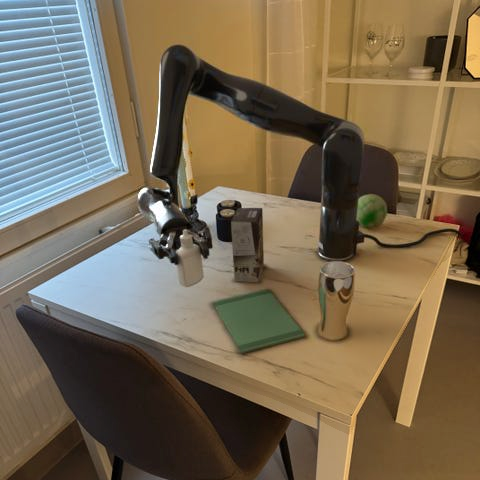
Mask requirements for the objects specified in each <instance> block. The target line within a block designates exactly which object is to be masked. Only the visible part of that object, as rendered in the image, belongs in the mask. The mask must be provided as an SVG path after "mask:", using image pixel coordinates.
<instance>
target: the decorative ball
mask: <svg viewBox="0 0 480 480" xmlns="http://www.w3.org/2000/svg"><path fill="white" fill-rule="evenodd" d="M387 215H388V205H387V202H386V201H385V200H384V198H382V197H381V196H380V195H377V194H373V193H368V194H364V195H362V196H359V199H358V209H357V219H356V220H357V221H359V228H362V229H365V230H372V229H373V230H374V229H375V228H378V227H379V226H381V225H383V223H384V221H385V220H386V218H387Z"/></svg>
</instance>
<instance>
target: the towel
mask: <svg viewBox="0 0 480 480" xmlns="http://www.w3.org/2000/svg"><path fill="white" fill-rule="evenodd" d="M212 305H213V306H214V308H215V309H216V312H217V313H218V315H219V317H220V318H221V320H222V322H223V323H224V326H225V327H226V329H227V330H228V332H229V334H230V335H231V337H232V339H233V340H234V342H235V344H236V347H238V350H239V351H240V353H241V354H245V353H250V352H255V351H257V350H261V349H265V348H268V347H271V346H276V345H279V344H283V343H286V342H287V343H288V342H290V341H294V340H298V339H301V338H305V337H306V334H305V333H304V331H303V330H302V329H301V328H300V327H299V325H298V324H297V323H296V322H295V321H294V319H293V318H292V317H291V315H290V314H289V313H288V312H287V310H286V309H285V308H284V306H282V304H281V303H280V302H279V301H278V299H277V298H276V297H275V295H274V294H273V293H272V292H271V290H270V289H269V288H267V289H261V290H257V291H253V292H249V293H244V294H240V295H236V296H232V297H227V298H223V299H218V300H214V301H212Z"/></svg>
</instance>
